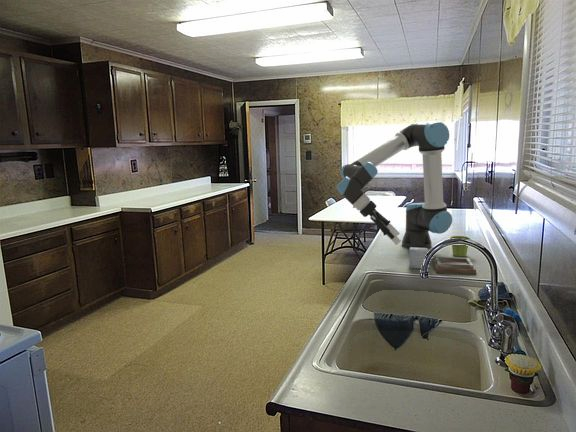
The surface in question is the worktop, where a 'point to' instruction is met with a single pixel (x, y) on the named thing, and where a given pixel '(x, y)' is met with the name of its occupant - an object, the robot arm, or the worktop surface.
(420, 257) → the medicine box
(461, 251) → the plant pot
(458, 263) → the walnut stand
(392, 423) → the worktop surface
